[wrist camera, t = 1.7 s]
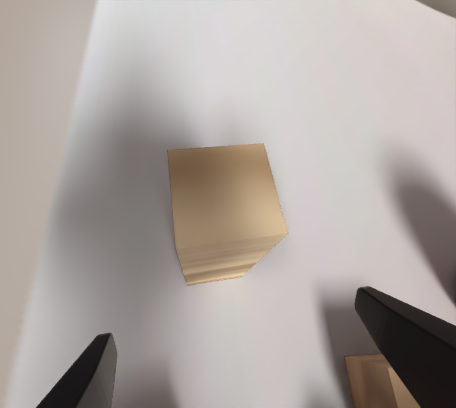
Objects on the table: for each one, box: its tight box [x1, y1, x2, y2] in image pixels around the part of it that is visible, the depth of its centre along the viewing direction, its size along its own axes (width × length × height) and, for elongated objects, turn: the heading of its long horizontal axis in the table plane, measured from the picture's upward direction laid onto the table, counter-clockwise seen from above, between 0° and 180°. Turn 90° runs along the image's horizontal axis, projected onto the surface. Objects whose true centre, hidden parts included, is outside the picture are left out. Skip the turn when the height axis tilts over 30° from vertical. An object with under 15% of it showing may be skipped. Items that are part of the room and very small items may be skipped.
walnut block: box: [344, 354, 420, 408], centre depth 17 cm, size 5×5×5 cm
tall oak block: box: [167, 144, 288, 286], centre depth 16 cm, size 4×4×12 cm
